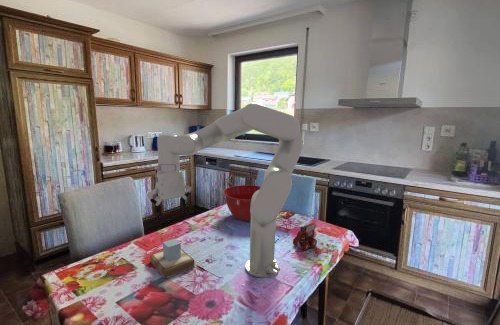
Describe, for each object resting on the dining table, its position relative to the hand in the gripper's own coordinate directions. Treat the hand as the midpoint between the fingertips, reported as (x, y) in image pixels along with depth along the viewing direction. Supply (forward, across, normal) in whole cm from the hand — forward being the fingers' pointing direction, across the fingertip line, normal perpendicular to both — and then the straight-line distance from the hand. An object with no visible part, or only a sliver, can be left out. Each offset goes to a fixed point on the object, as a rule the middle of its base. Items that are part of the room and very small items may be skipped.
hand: (171, 211), depth 100 cm
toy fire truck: (+23, +54, -23) cm, 63 cm away
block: (+19, 0, 0) cm, 19 cm away
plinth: (+22, 0, 0) cm, 22 cm away
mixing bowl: (+22, +56, +21) cm, 64 cm away
